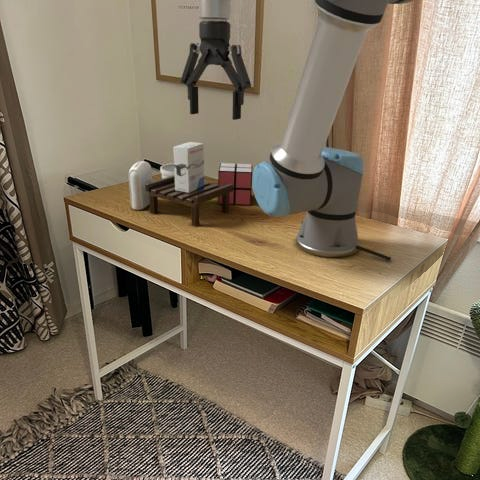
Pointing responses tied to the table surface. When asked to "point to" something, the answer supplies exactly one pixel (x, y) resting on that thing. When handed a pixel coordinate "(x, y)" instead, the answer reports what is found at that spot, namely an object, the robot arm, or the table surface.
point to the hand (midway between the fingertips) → (215, 116)
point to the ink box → (189, 166)
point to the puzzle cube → (236, 182)
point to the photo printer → (139, 184)
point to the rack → (187, 196)
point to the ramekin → (167, 170)
